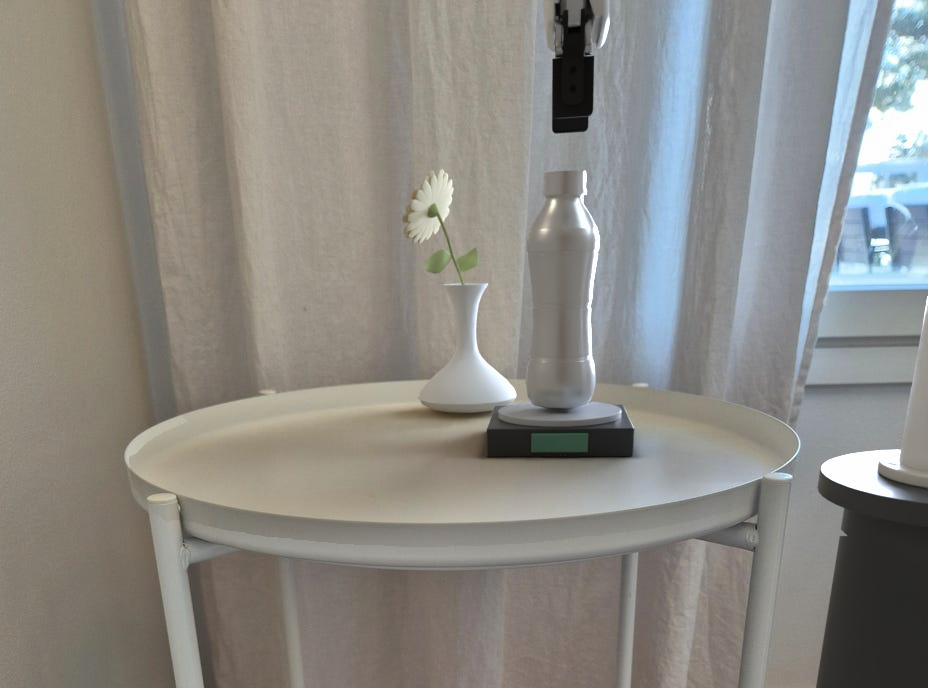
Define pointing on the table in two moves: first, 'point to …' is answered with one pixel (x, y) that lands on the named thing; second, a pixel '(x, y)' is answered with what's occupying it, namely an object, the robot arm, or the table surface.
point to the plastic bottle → (562, 295)
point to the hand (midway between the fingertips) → (571, 125)
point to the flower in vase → (467, 373)
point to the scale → (560, 431)
